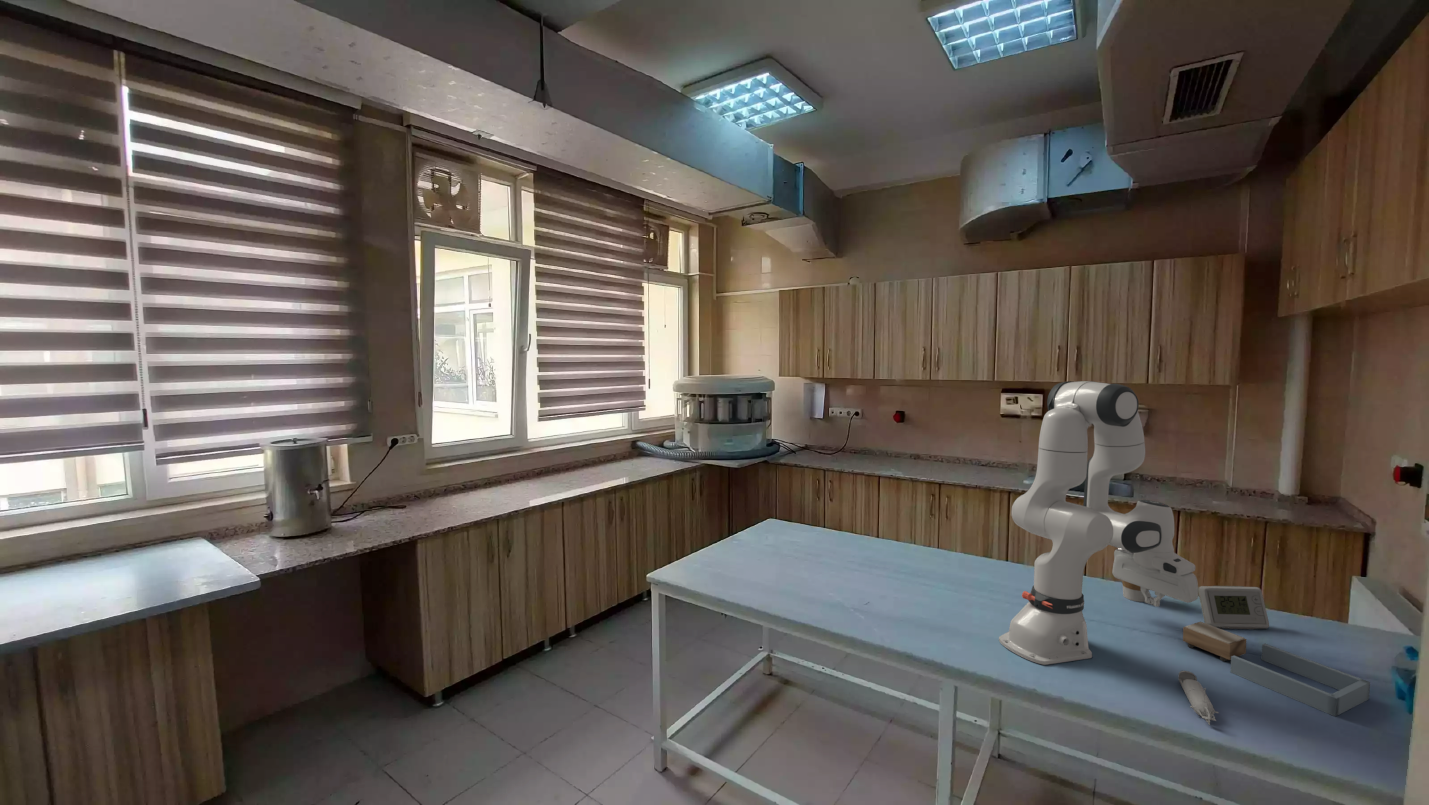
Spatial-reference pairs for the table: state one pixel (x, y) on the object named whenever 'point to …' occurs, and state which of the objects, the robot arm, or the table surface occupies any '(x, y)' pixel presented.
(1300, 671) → the bay
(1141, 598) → the coffee cup
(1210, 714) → the torpedo
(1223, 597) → the digital clock
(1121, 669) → the table surface
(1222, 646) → the tan block
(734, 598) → the table surface
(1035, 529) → the robot arm
